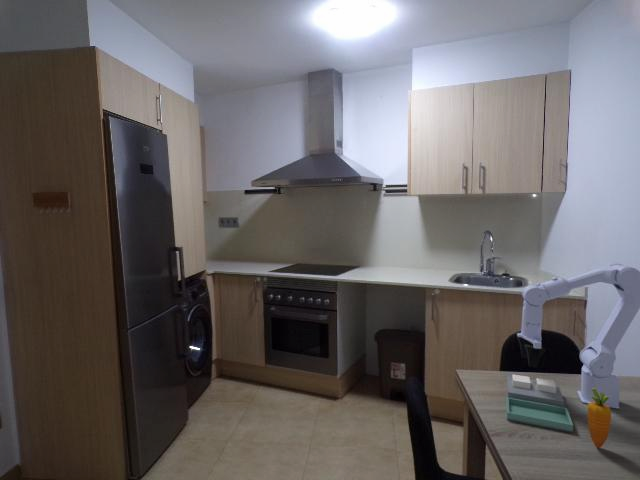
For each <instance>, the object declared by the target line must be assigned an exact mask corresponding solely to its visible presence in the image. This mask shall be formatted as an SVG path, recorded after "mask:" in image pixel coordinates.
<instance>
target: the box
mask: <svg viewBox="0 0 640 480" xmlns="http://www.w3.org/2000/svg"><path fill="white" fill-rule="evenodd" d="M505 401H506V402H505V404H506V405H505V406H506V409H505V410H506V421H511V422H516V423H519V424H520V423H521V424H525V425H531V426H536V427H542V428H545V429H550V430H551V429H552V430H556V431H562V432H566V433H571V434H573V433H574V423H573V420H572V419H571V416H570V412H569V410H568V407H565V406H564V407H559V406H554V405H548V404H542V403H537V402H531V401H525V400H520V399H514V398H508V396H507V397H506V399H505Z"/></svg>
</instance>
